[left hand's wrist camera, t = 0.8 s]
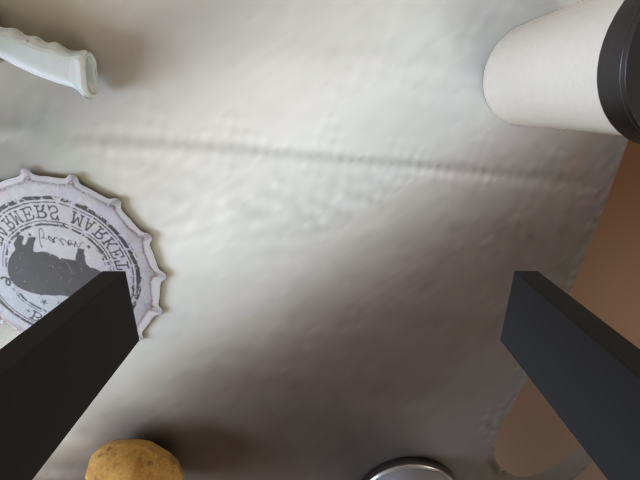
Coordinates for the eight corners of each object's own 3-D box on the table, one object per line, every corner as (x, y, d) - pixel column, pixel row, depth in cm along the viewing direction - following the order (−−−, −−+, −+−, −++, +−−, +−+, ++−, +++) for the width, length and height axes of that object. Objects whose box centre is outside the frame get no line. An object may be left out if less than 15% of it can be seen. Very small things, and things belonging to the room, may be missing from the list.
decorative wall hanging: (-68, 152, 38) (-19, 380, 48) (-72, 153, 38) (-21, 382, 48) (167, 188, 39) (165, 402, 50) (166, 189, 39) (164, 404, 49)
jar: (582, 109, 37) (808, 114, 20) (489, 136, 38) (627, 163, 21) (578, 5, 34) (842, -95, 17) (476, 38, 35) (627, -26, 18)
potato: (112, 413, 50) (81, 459, 44) (200, 441, 52) (184, 489, 46) (97, 458, 53) (66, 507, 47) (182, 483, 55) (164, 534, 48)
